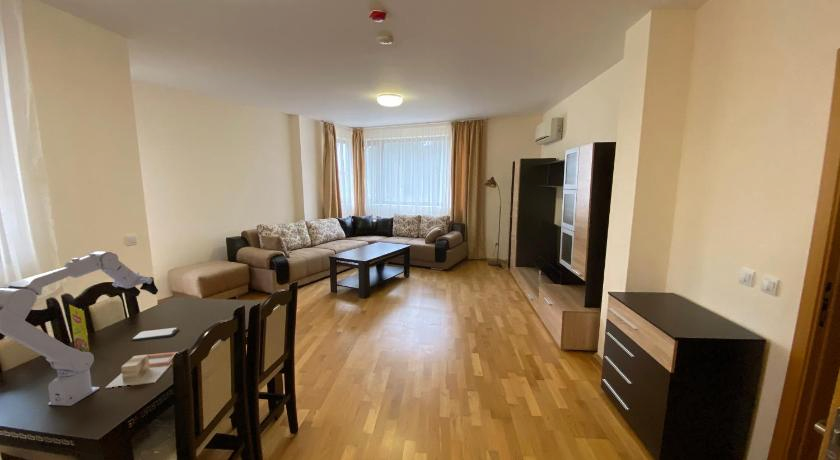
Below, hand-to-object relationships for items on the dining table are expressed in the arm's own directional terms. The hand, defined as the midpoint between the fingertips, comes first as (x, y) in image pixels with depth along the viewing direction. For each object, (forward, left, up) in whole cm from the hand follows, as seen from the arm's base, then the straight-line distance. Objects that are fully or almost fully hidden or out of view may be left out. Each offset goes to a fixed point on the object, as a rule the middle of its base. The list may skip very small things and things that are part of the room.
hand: (147, 293), depth 135 cm
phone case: (+18, +15, -28) cm, 37 cm away
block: (-15, -7, -27) cm, 31 cm away
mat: (-10, -6, -27) cm, 30 cm away
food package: (0, +32, -27) cm, 42 cm away
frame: (-5, -5, -27) cm, 28 cm away
